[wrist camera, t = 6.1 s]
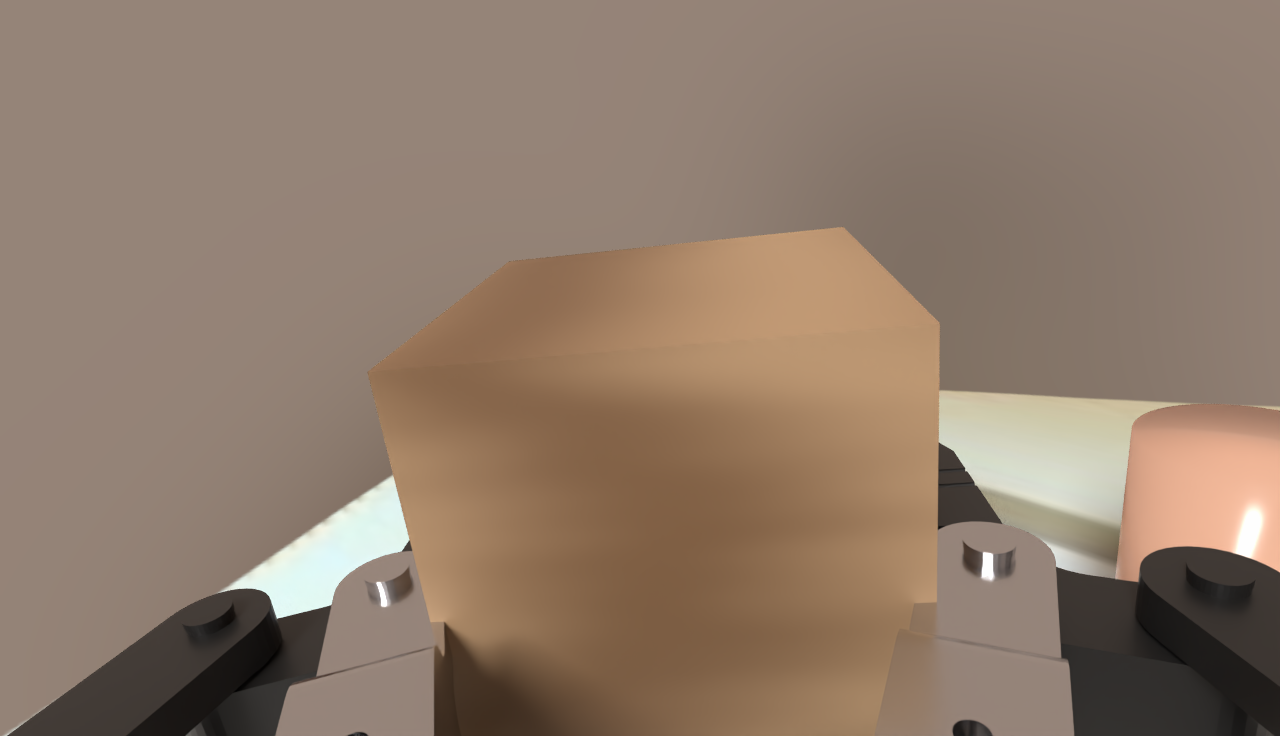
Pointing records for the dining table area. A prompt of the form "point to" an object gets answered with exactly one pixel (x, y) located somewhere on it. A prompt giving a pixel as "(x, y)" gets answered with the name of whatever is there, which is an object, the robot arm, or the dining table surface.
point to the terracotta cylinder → (1202, 484)
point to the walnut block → (672, 486)
